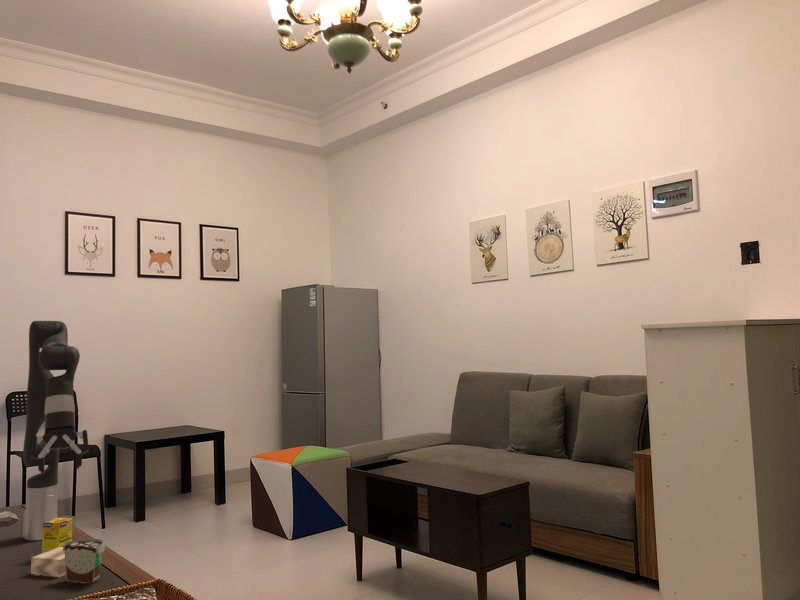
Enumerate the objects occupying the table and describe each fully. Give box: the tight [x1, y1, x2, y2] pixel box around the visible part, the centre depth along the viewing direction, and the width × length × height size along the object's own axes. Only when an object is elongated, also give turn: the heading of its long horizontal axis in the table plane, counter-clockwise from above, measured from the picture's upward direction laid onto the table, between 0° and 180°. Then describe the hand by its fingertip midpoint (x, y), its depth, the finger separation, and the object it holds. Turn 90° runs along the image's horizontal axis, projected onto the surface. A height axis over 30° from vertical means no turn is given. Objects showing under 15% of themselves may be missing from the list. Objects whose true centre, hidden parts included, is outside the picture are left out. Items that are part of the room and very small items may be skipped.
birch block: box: [30, 547, 66, 578], centre depth 181 cm, size 10×10×5 cm
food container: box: [63, 538, 106, 584], centre depth 174 cm, size 12×6×10 cm, turn 71°
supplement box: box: [41, 517, 73, 554], centre depth 194 cm, size 6×6×11 cm
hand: (60, 470), depth 175 cm, fingers open, 8 cm apart
